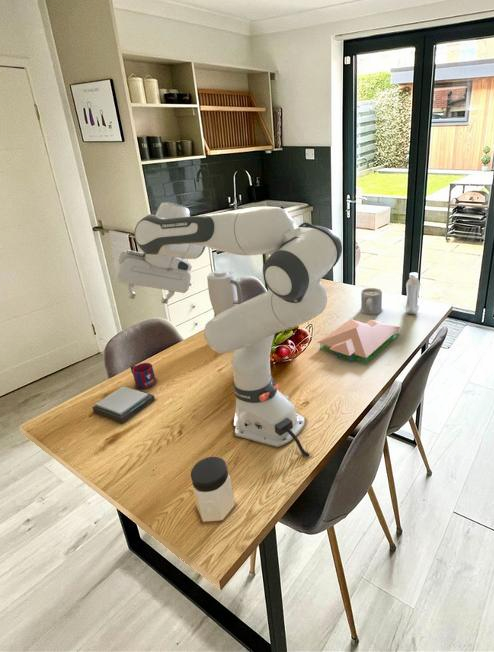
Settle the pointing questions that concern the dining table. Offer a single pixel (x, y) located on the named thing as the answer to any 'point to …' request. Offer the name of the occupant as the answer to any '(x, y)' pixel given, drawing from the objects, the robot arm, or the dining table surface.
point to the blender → (223, 291)
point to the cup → (143, 375)
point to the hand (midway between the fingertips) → (147, 300)
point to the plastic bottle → (412, 294)
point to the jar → (212, 489)
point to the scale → (123, 404)
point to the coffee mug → (371, 301)
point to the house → (359, 338)
